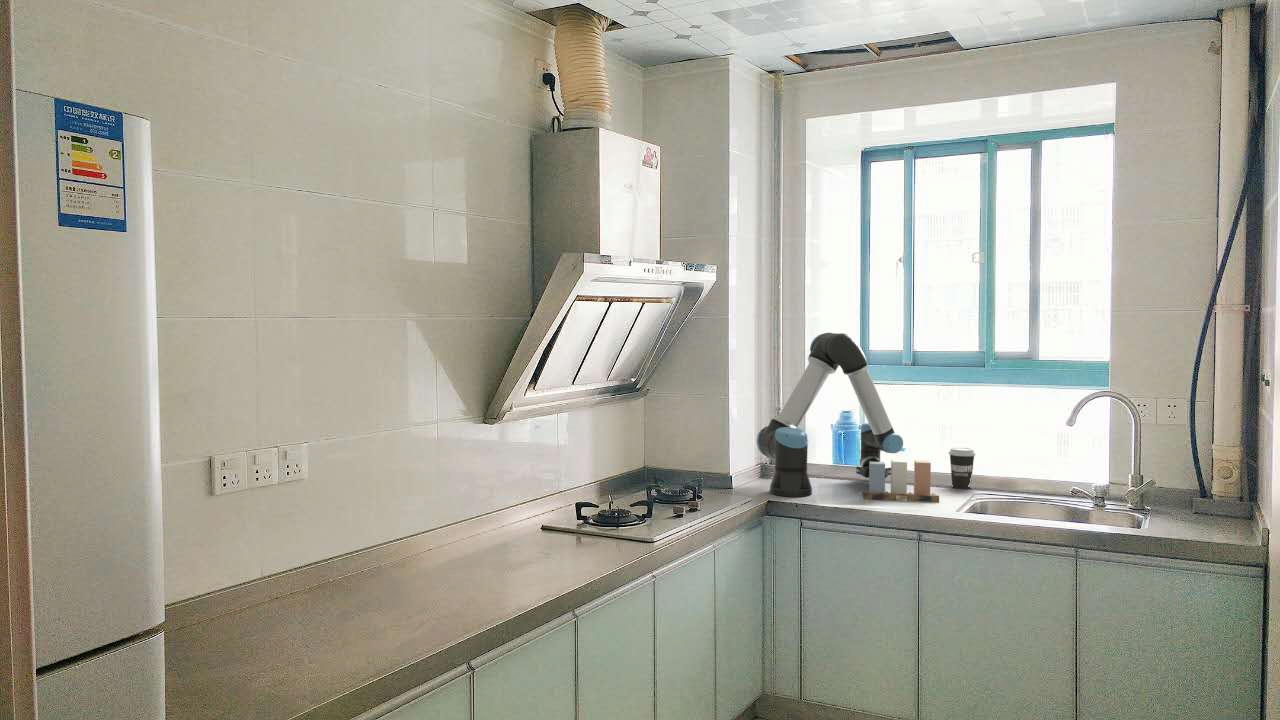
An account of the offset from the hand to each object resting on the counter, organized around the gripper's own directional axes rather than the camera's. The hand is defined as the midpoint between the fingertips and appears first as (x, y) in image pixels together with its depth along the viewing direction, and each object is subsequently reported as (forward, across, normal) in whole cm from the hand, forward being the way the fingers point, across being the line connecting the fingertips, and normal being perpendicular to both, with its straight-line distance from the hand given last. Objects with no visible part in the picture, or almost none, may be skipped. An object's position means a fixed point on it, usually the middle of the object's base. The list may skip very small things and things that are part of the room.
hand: (877, 478), depth 320 cm
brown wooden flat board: (-1, -8, -7) cm, 11 cm away
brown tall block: (-3, -16, -6) cm, 17 cm away
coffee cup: (-26, -33, -8) cm, 42 cm away
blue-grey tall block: (+3, 0, -6) cm, 7 cm away
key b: (-3, -8, -6) cm, 11 cm away
